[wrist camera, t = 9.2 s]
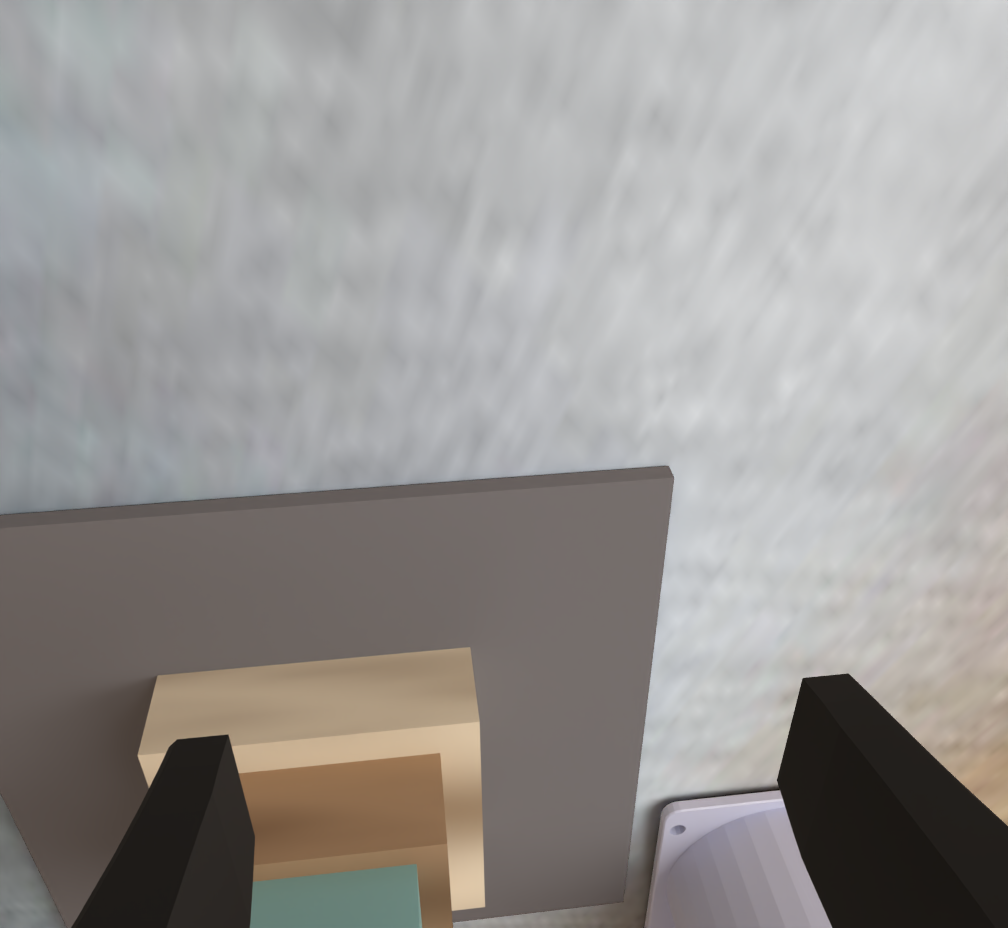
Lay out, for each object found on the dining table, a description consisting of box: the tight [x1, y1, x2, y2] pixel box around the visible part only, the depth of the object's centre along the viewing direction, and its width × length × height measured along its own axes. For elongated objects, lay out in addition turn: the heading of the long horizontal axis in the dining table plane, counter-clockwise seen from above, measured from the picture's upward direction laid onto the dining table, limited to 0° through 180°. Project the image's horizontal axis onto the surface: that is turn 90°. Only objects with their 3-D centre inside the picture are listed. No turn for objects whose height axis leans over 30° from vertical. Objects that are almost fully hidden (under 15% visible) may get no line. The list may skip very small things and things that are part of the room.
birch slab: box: [138, 647, 485, 911], centre depth 25 cm, size 8×8×2 cm
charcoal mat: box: [0, 466, 674, 928], centre depth 26 cm, size 18×18×1 cm
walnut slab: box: [239, 753, 453, 928], centre depth 23 cm, size 6×6×2 cm
